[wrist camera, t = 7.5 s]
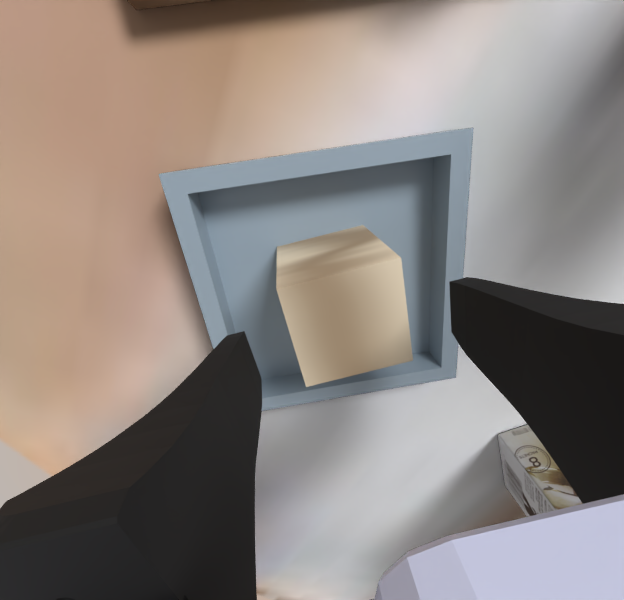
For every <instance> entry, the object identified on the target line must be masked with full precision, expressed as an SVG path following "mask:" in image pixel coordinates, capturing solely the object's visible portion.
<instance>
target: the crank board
mask: <svg viewBox="0 0 624 600" xmlns="http://www.w3.org/2000/svg"><path fill="white" fill-rule="evenodd" d="M127 1H128V2H129V3H130V4H131V5H132V6H133V7H134V8H135V9H136V10H141V9H148V8H156V7H164V6H171V5H179V4H186V3H194V2H201V1H209V0H127Z"/></svg>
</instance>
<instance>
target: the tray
mask: <svg viewBox="0 0 624 600" xmlns="http://www.w3.org/2000/svg"><path fill="white" fill-rule="evenodd" d="M472 140H473V128H466V129H458V130H450V131H443V132H436V133H430V134H423V135H416V136H409V137H403V138H396V139H389V140H382V141H375V142H369V143H362V144H355V145H348V146H342V147H335V148H328V149H321V150H315V151H308V152H301V153H294V154H288V155H281V156H274V157H267V158H260V159H254V160H247V161H240V162H233V163H227V164H220V165H213V166H206V167H200V168H193V169H186V170H179V171H173V172H167V173H162V174H159V177H160V180H161V183H162V187H163V190H164V193H165V196H166V199H167V202H168V206H169V209H170V212H171V215H172V218H173V222H174V225H175V228H176V231H177V234H178V238H179V241H180V244H181V247H182V250H183V254H184V257H185V260H186V263H187V266H188V269H189V273H190V276H191V279H192V282H193V285H194V289H195V292H196V295H197V298H198V301H199V305H200V308H201V311H202V314H203V317H204V321H205V324H206V327H207V330H208V333H209V337H210V340H211V343H212V346H213V349H214V348H215V347H216V346H217V345H218V344H219V343H220V342H221V341H222V340H223V339H224V338H225V337H226V336H227V335H231V334H235V333H239V332H243V331H245V334H246V337H247V340H248V342H249V345H250V348H251V350H252V353H253V356H254V359H255V361H256V364H257V367H258V370H259V372H260V375H261V379H262V411H264V410H270V409H276V408H282V407H288V406H294V405H299V404H305V403H311V402H317V401H323V400H328V399H334V398H340V397H346V396H352V395H358V394H363V393H369V392H375V391H381V390H387V389H393V388H398V387H404V386H410V385H416V384H422V383H428V382H433V381H439V380H445V379H451V378H456V369H457V355H458V342H457V340H456V339H455V337H454V335H453V334H452V332H451V311H450V286H449V282H450V281H454V280H458V279H462V278H463V269H464V255H465V240H466V226H467V212H468V197H469V183H470V169H471V154H472ZM361 225H364V226H365V227H366V228H367V229H368V230H369V231H371V232H372V233H373V234H374V235H375V236H376V237H378V238H379V239H380V240H381V241H382V242H383V243H385V244H386V245H387V246H388V247H389V248H390V249H392V250H393V251H394V252H395V253H396V254H397V255H399V256H400V257H401V260H402V269H403V278H404V286H405V295H406V304H407V312H408V321H409V330H410V338H411V347H412V355H413V361H409V362H405V363H401V364H397V365H393V366H389V367H385V368H381V369H377V370H373V371H369V372H365V373H361V374H357V375H353V376H349V377H345V378H341V379H337V380H333V381H329V382H325V383H321V384H317V385H313V386H309V387H306V385H305V382H304V378H303V375H302V372H301V369H300V365H299V362H298V359H297V355H296V352H295V349H294V346H293V342H292V339H291V336H290V332H289V329H288V326H287V323H286V319H285V316H284V313H283V309H282V306H281V303H280V300H279V296H278V293H277V290H276V275H277V247H278V246H282V245H286V244H290V243H294V242H298V241H302V240H306V239H310V238H313V237H317V236H321V235H325V234H329V233H333V232H337V231H341V230H345V229H349V228H353V227H357V226H361Z"/></svg>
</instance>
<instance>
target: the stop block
mask: <svg viewBox="0 0 624 600" xmlns="http://www.w3.org/2000/svg"><path fill="white" fill-rule="evenodd" d="M276 290H277V293H278V296H279V300H280V303H281V306H282V309H283V313H284V316H285V319H286V323H287V326H288V329H289V332H290V336H291V339H292V342H293V346H294V349H295V352H296V355H297V359H298V362H299V365H300V369H301V372H302V375H303V378H304V382H305V385H306V387H309V386H313V385H317V384H321V383H325V382H329V381H333V380H337V379H341V378H345V377H349V376H353V375H357V374H361V373H365V372H369V371H373V370H377V369H381V368H385V367H389V366H393V365H397V364H401V363H405V362H409V361H413V355H412V347H411V338H410V330H409V321H408V312H407V304H406V295H405V286H404V278H403V269H402V260H401V257H400V256H399V255H397V254H396V253H395V252H394V251H393V250H392V249H390V248H389V247H388V246H387V245H386V244H385V243H383V242H382V241H381V240H380V239H379V238H378V237H376V236H375V235H374V234H373V233H372V232H371V231H369V230H368V229H367V228H366V227H365V226H364V225H361V226H357V227H353V228H349V229H345V230H341V231H337V232H333V233H329V234H325V235H321V236H317V237H313V238H310V239H306V240H302V241H298V242H294V243H290V244H286V245H282V246H278V247H277V275H276Z"/></svg>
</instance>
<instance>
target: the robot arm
mask: <svg viewBox="0 0 624 600" xmlns="http://www.w3.org/2000/svg"><path fill="white" fill-rule="evenodd" d="M449 286H450V311H451V332H452V334H453V335H454V337H455V339H456V340H457V342H458V343H459V345H460V346H461V348H462V349H463V350H464V352H465V353H466V355H467V356H468V357H469V358H470V359H471V360H472V361H473V363H474V364H475V365H476V366H477V367H478V368H479V369H480V370H481V371H482V372H483V374H484V375H485V376H486V377H487V378H488V379H489V380H490V381H491V382H492V383H493V384H494V386H495V387H496V388H497V389H498V390H499V391H500V392H501V393H502V394H503V395H504V396H505V397H506V399H507V400H508V401H509V402H510V403H511V404H512V405H513V406H514V408H515V409H516V410H517V411H518V412H519V414H520V415H521V416H522V417H523V419H524V420H525V421H526V423H527V424H528V426H529V427H530V428H531V430H532V431H533V432H534V434H535V435H536V436H537V438H538V439H539V440H540V442H541V443H542V445H543V446H544V447H545V449H546V450H547V452H548V453H549V455H550V456H551V457H552V459H553V460H554V462H555V463H556V465H557V466H558V467H559V469H560V470H561V472H562V473H563V475H564V476H565V478H566V479H567V481H568V482H569V484H570V485H571V487H572V488H573V490H574V491H575V493H576V494H577V496H578V497H579V499H580V500H581V502H582V503H583V504H580V505H576V506H572V507H567V508H563V509H559V510H554V511H550V512H546V513H542V514H537V515H533V516H529V517H524V518H520V519H516V520H512V521H507V522H503V523H499V524H494V525H490V526H486V527H482V528H477V529H473V530H469V531H464V532H460V533H456V534H452V535H447V536H445V537H442V538H440V539H437V540H435V541H432V542H430V543H427V544H424V545H422V546H419V547H417V548H414V549H412V550H409V551H408V552H407V553H406V554H404V555H403V556H402V557H401V558H400V559H399V560H398V561H396V562H395V563H394V564H393V565H392V566H391V567H390V568H388V569H387V570H386V571H385V572H384V573H383V575H382V577H381V579H380V581H379V582H378V587H377V591H376V595H375V599H371V600H624V304H617V303H608V302H599V301H591V300H583V299H576V298H570V297H564V296H558V295H553V294H547V293H542V292H537V291H532V290H528V289H523V288H519V287H514V286H510V285H505V284H501V283H496V282H492V281H487V280H482V279H477V278H468V277H466V278H462V279H458V280H454V281H450V282H449ZM261 411H262V379H261V375H260V372H259V370H258V367H257V364H256V361H255V359H254V356H253V353H252V350H251V348H250V345H249V342H248V340H247V337H246V334H245V331H243V332H239V333H235V334H231V335H227V336H226V337H225V338H224V339H223V340H222V341H221V342H220V343H219V344H218V345H217V346H216V347H215V348H214V349H213V351H212V352H211V353H210V354H209V355H208V356H207V357H206V358H205V359H204V361H203V362H202V363H201V364H200V365H199V366H198V367H197V368H196V369H195V370H194V371H193V372H192V373H191V374H190V375H189V376H188V377H187V378H186V379H185V380H184V381H183V382H182V383H181V384H180V385H179V386H178V387H177V388H176V389H175V390H174V391H173V392H172V393H171V394H170V395H169V396H168V397H166V398H165V399H164V400H163V401H162V402H161V403H160V404H158V405H157V406H156V407H155V408H154V409H152V410H151V411H150V412H149V413H148V414H146V415H145V416H144V417H142V418H141V419H140V420H138V421H137V422H136V423H134V424H133V425H131V426H130V427H129V428H127V429H126V430H125V431H123V432H122V433H121V434H119V435H118V436H116V437H115V438H114V439H112V440H111V441H109V442H108V443H106V444H105V445H103V446H102V447H100V448H99V449H97V450H95V451H94V452H92V453H91V454H89V455H88V456H86V457H84V458H83V459H81V460H79V461H78V462H76V463H75V464H73V465H71V466H70V467H68V468H66V469H64V470H63V471H61V472H59V473H57V474H56V475H54V476H52V477H50V478H48V479H47V480H45V481H43V482H41V483H39V484H38V485H36V486H34V487H32V488H30V489H29V490H27V491H25V492H23V493H21V494H20V495H18V496H16V497H14V498H12V499H10V500H8V501H7V502H5V504H4V505H3V506H2V507H1V508H0V600H257V595H256V565H255V466H256V456H257V447H258V438H259V429H260V420H261Z"/></svg>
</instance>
